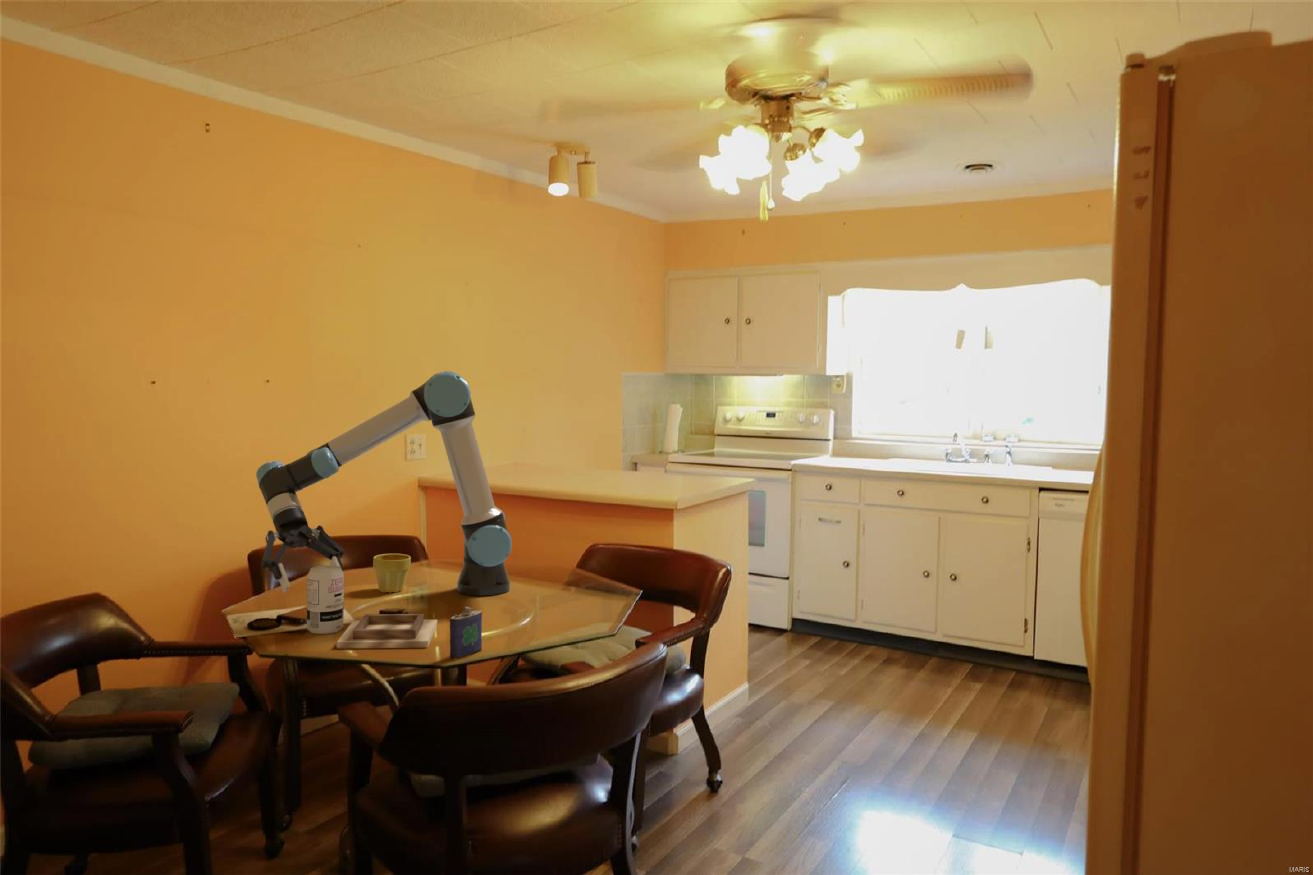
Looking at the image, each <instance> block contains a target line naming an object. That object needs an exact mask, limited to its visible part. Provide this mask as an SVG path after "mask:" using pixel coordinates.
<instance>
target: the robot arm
mask: <svg viewBox="0 0 1313 875" xmlns="http://www.w3.org/2000/svg"><path fill="white" fill-rule="evenodd" d="M471 394H472V392H471V389H470V386H469V384H468V382H467V381H466V379H465V378H464V377H463V376H461V375H460V374H459V373H456V372H453V371H447V370H446V371H440V372H438V373H435V374H433V375H432V376H430V377H429V379H428V380H427V381H425V382H424V383H423V384H421V385H420V386H419V387H417V388H416V389H413V390H411V391H410V393H409V396H408V397H406V398H404V399H403V400H401V401H399V402H397V403H395V404H394V405H393V406H390V407H389V408H387V409H385V410H383V411H381V412H380V413H377V414H375V415H374V416H372V417H370V418H369V419H367V420H365V421H364V422H362V423H359V424H358V425H356V426H355V427H352V428H350V429H349V430H347V431H345V432H344V433H342V434H340V435H338V436H336V437H335V438H333V439H331V440H329V441H327V442H325V443H324V444H322V445H320V446H319V447H316V448H314V449H312V450H310V451H308V452H307V454H306V455H304V456H301V457H299V458H298V459H296V460H294V461H292V462H289V463H287V464H284V463H283V462H282V461H278V460H273V461H267V462H265V463H264V464H262V465H261V466H259V467H258V469H257V470H256V473H255V474H256V475H255V477H256V480H257V483H258V488H259V490H260V492H261V495H262V497H263V500H264V501H265V504H266V507H267V510H268V512H269V515H270V519H271V520H272V523H273V526H274V530H275V532H274V531H273V530H268V531H267V533H266V536H265V538H264V539H265V543H266V545H265V549H264V553H263V556H262V557H263V558H262V563H261V566H260V567H261V569H263V570H264V569H268V570H269V572H271V573H272V575H273V577H274V580H276V581H277V580H278V581H279V583H280V584H279V585H280V587H281V590H282V592H283V593H287V592H288V591H289V589H290V587H291V584H290V581H289V578H288V575H287V573H286V571H285V567H284V565H283V563H279V562H280V561H281V559H282V557H283V555H284V554H285V552H286V550H287V549H288V548H291V549H295V548H304V547H306V548H308V549H312V550H314V551H315V552H317V553H318V554H321V555H322V556H323V557H325V558H327V559H328V560H330V561H329V566H339V567H341V570H342V571H343V567H344V565H343V562H342V560H341V559H342V558H343V556H344V555H345V553H346V551H345V549H344V547H343V548H342V546H340V545H339V543H337V542H336V541H335V540H334V539H333V538H332V537H331V536H330V535H329V534H328V533H327V532H325V529H324V528H323V526H322V525H318V526H317V527H316V528H311V527H310V526H309V523H308V520H307V517H306V514H305V512H304V511H303V507H302V505H301V502H300V500H299V498H298V495H297V492H299V491H302V490H303V489H305V488H308V487H310V486H312V485H314V484H317V483H319V482H322V481H324V480H325V479H329V478H330V477H332V476H333V475H335V474H337V473H338V472H339V470H340V467H342V466H344V465H346V464H348V463H349V462H351V461H353V460H355V459H357V458H358V457H360V456H362V455H364V454H366V453H367V452H370V451H371V450H372V449H374V448H376V447H378V446H380V445H381V444H383V443H386V442H387V441H388V440H391V439H392V438H393V437H396V436H397V435H399V434H401V433H403V432H404V431H407V430H408V429H410V428H412V427H414V426H417V425H418V424H419V423H421V422H423V421H425V422H430V421H431V423H432V424H431V425H432V427H433V428H434V429H436V430H437V431H439V432H440V434H441V439H442V441H443V445H444V449H445V452H446V456H447V461H448V462H449V466H450V470H451V473H452V477H453V480H454V483H455V487H456V490H457V491H456V492H457V493H458V498H459V502H460V505H461V509H462V512H463V517H462V519H461V521H460V527H461V529H462V533H463V565H462V567H461V571H460V574H459V576H458V579H457V582H456V590H457V592H458V593H459V594H462V595H468V596H481V597H482V596H495V595H496V596H497V595H501V594H505V593H507V592H509V591H510V590H511V588H510V587H511V581H510V578H509V574H508V572H507V568H506V565H505V561H506V560H507V559H508V557H509V556H510V554H511V552H512V546H513V540H512V539H513V538H512V536H511V535H510V532H509V531H508V527H507V524H506V523H507V522H506V515H505V512H503V510H502V509H500V508H498V507H497V506H495V502H494V498H493V494H492V491H491V487H490V483H489V480H488V477H487V473H486V470H485V466H484V463H483V462H484V461H483V459H482V458H483V457H482V455H481V452H480V448H479V444H478V441H477V437H476V433H475V431H474V430H475V429H474V426H473V420H474V419H475V418H476V413H475V408H474V405H473V401H472V398H471ZM276 540H279V541H280V542H282V545H281V547H280V548H279V550H278V552H277V554H276V555H275V557H274V559H273V560H271V559H272V558H271V557H272V553H273V548H274V544H275V541H276ZM344 579H345V576H344Z"/></svg>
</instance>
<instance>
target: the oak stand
mask: <svg viewBox="0 0 1313 875" xmlns="http://www.w3.org/2000/svg"><path fill="white" fill-rule="evenodd" d="M437 627H438V619H424V613H396V614H395V613H385V614H384V613H383V614H382V613H381V614H380V613H370V614H369V613H368V614H364V615H363V616H362V618H361V619H357V620H356V619H354V620H352V622H351V623H350V625H349V626H348V627H347V628H346V630H345V631H344V632H343V633H342V635H341V636H340V638H338V640H337V641H336V649H338V650H339V649H407V648H409V649H412V648H414V649H415V648H416V649H417V648H418V649H419V648H421V649H422V648H427V649H428V648H429V646H430V643H431V641H432V639H433V637H434V634H435V632H436V629H437Z"/></svg>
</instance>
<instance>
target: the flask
mask: <svg viewBox="0 0 1313 875" xmlns="http://www.w3.org/2000/svg"><path fill="white" fill-rule="evenodd" d="M464 608H465V610H463V612H462V613H459V615H457V614H455V615H452V617H450V619H449V659H450V660H458V659H459V660H460V659H463V658H466V657H470V656H472V655H474V654H476V653H479V652H481V651H482V648H483V647H482V646H483V645H482V644H483V642H482V641H483V640H482V639H483V638H482V631H483V628H482V627H483V626H482V625H483V622H482V621H483V612H482V610H472V608H471V607H469V606H464Z"/></svg>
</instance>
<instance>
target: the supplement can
mask: <svg viewBox="0 0 1313 875" xmlns="http://www.w3.org/2000/svg"><path fill="white" fill-rule="evenodd" d="M344 577H345V573H344V572H343V569H342V570H341V567H339V566H330V565H318V566H313V567H311V568H310V569H309V572H308V574H307V575H306V629H307V631H309V632H310V633H311V634H315V635H316V634H317V635H328V634H335V633H337V632H339V631H341V630H342V628H344V617H345V616H344V613H345V612H344V611H345V610H344V609H345V608H344V600H345V599H344V598H345V597H344V596H345V595H344V593H345V591H344V590H345V587H344V586H345V584H344V583H345V582H344V581H345V578H344Z"/></svg>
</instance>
